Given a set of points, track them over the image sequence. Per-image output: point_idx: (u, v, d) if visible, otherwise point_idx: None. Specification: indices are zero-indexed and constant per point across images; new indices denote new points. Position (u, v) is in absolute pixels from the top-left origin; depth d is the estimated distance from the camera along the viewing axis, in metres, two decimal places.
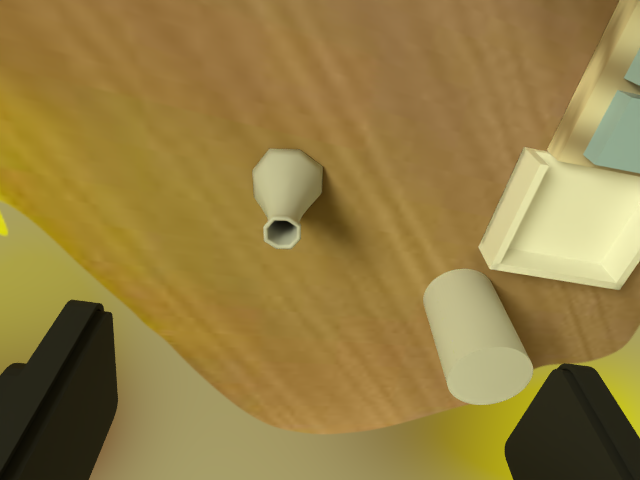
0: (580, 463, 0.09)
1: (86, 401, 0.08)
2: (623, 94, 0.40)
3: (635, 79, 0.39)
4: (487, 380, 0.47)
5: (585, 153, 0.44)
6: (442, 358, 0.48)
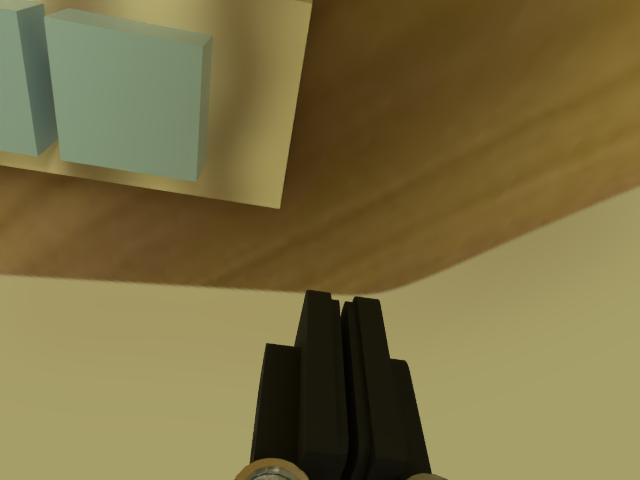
0: None
1: None
2: (29, 6, 0.19)
3: (59, 14, 0.19)
4: None
5: None
6: None
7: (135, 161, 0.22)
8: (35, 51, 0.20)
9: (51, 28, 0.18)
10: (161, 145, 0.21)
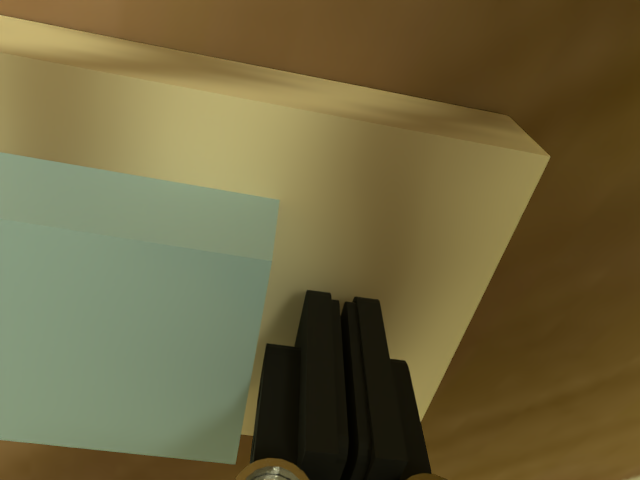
0: None
1: None
2: None
3: None
4: None
5: None
6: None
7: (115, 437, 0.11)
8: None
9: None
10: (168, 416, 0.10)
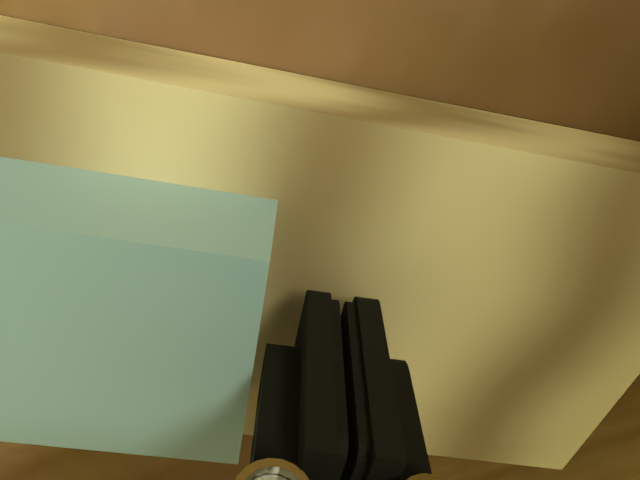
0: None
1: None
2: None
3: None
4: None
5: None
6: None
7: (118, 438, 0.11)
8: None
9: None
10: (171, 417, 0.10)
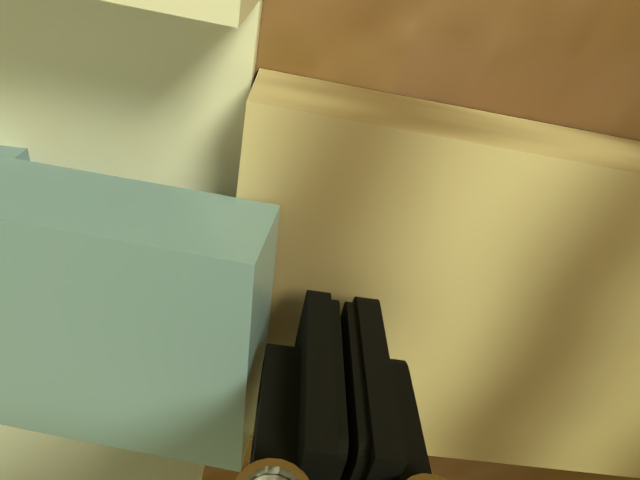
0: None
1: None
2: None
3: None
4: None
5: None
6: None
7: (126, 435, 0.11)
8: None
9: None
10: (172, 418, 0.11)
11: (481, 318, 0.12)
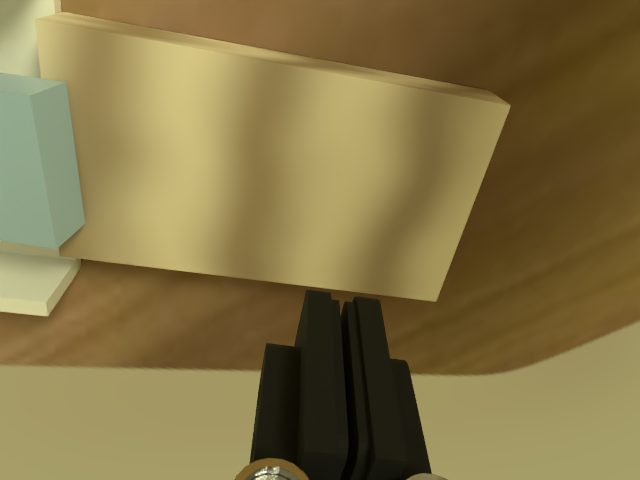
0: None
1: None
2: None
3: None
4: None
5: None
6: None
7: None
8: None
9: None
10: (9, 209, 0.18)
11: (207, 160, 0.20)
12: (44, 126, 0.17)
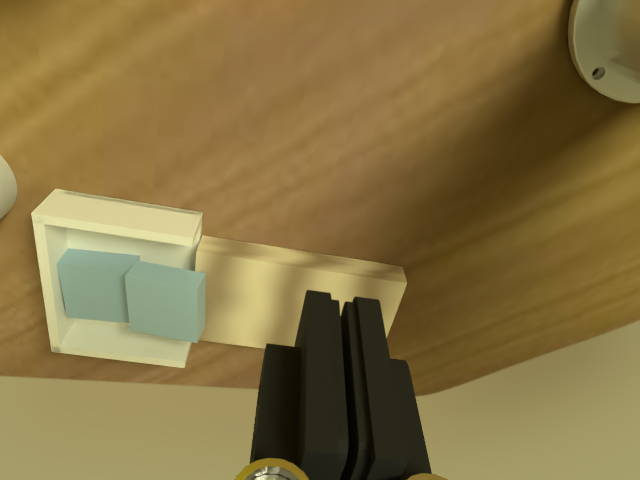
0: None
1: None
2: (134, 262, 0.41)
3: (131, 271, 0.39)
4: None
5: (69, 250, 0.41)
6: None
7: (166, 332, 0.42)
8: None
9: (127, 280, 0.39)
10: (178, 327, 0.41)
11: (265, 302, 0.42)
12: (199, 296, 0.40)
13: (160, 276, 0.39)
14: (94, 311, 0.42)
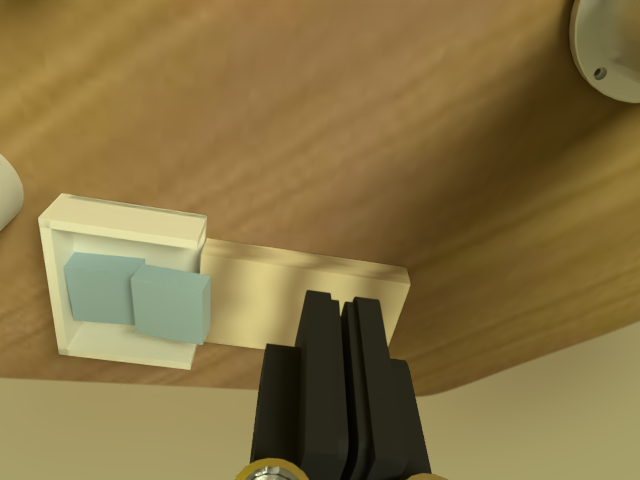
0: None
1: None
2: (140, 265, 0.41)
3: (137, 274, 0.40)
4: None
5: (76, 253, 0.42)
6: None
7: (172, 334, 0.42)
8: None
9: (133, 283, 0.39)
10: (184, 329, 0.41)
11: (269, 303, 0.43)
12: (204, 299, 0.40)
13: (165, 279, 0.40)
14: (100, 314, 0.43)
